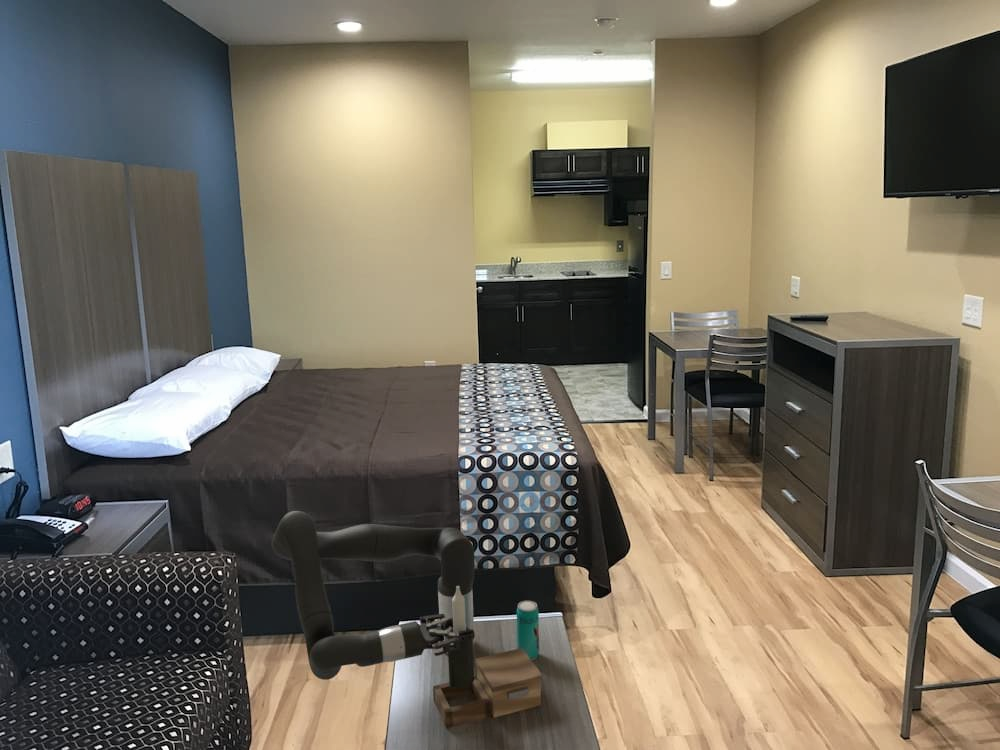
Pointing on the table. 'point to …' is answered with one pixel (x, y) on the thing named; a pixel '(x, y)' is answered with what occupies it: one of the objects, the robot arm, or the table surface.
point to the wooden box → (493, 689)
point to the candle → (460, 648)
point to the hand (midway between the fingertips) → (469, 626)
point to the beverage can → (528, 628)
